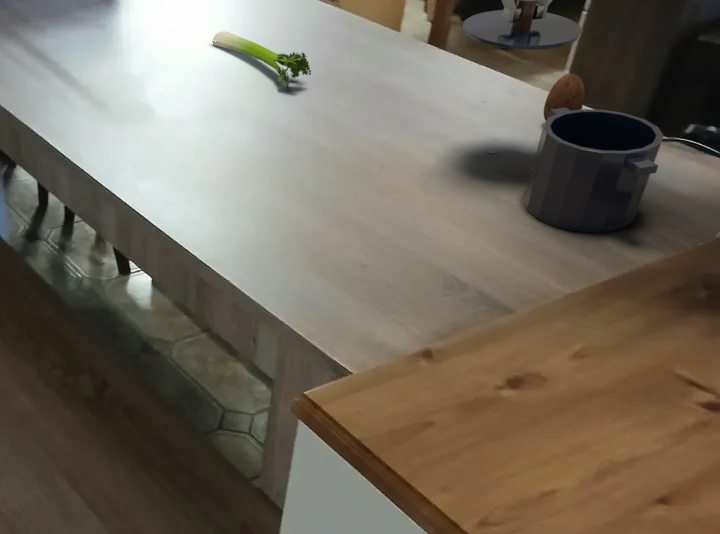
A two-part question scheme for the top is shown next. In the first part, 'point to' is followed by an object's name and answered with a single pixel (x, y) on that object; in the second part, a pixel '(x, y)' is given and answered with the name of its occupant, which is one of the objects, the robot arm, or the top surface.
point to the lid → (522, 29)
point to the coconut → (565, 94)
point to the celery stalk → (264, 55)
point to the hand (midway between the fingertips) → (523, 19)
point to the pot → (591, 169)
